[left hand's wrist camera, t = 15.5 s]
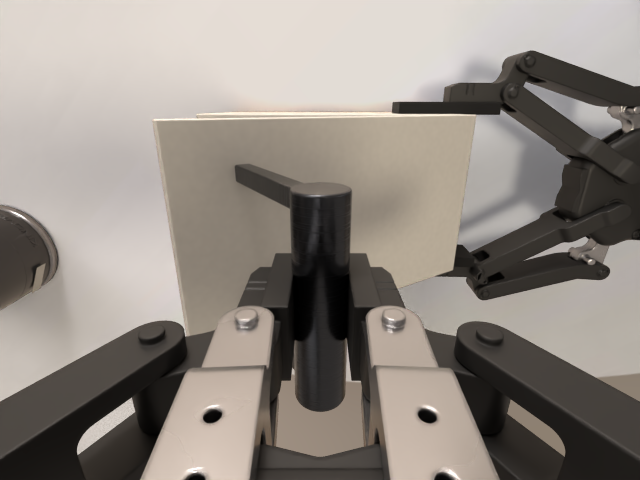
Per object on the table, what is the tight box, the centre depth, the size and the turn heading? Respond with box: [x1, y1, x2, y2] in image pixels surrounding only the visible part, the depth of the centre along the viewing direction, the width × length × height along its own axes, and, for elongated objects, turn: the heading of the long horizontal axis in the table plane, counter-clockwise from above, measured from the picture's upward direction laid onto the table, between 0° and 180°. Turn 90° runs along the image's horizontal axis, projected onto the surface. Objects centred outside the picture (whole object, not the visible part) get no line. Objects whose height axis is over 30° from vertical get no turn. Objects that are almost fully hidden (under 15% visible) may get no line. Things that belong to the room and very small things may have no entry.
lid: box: [152, 115, 476, 412], centre depth 16 cm, size 18×10×8 cm
